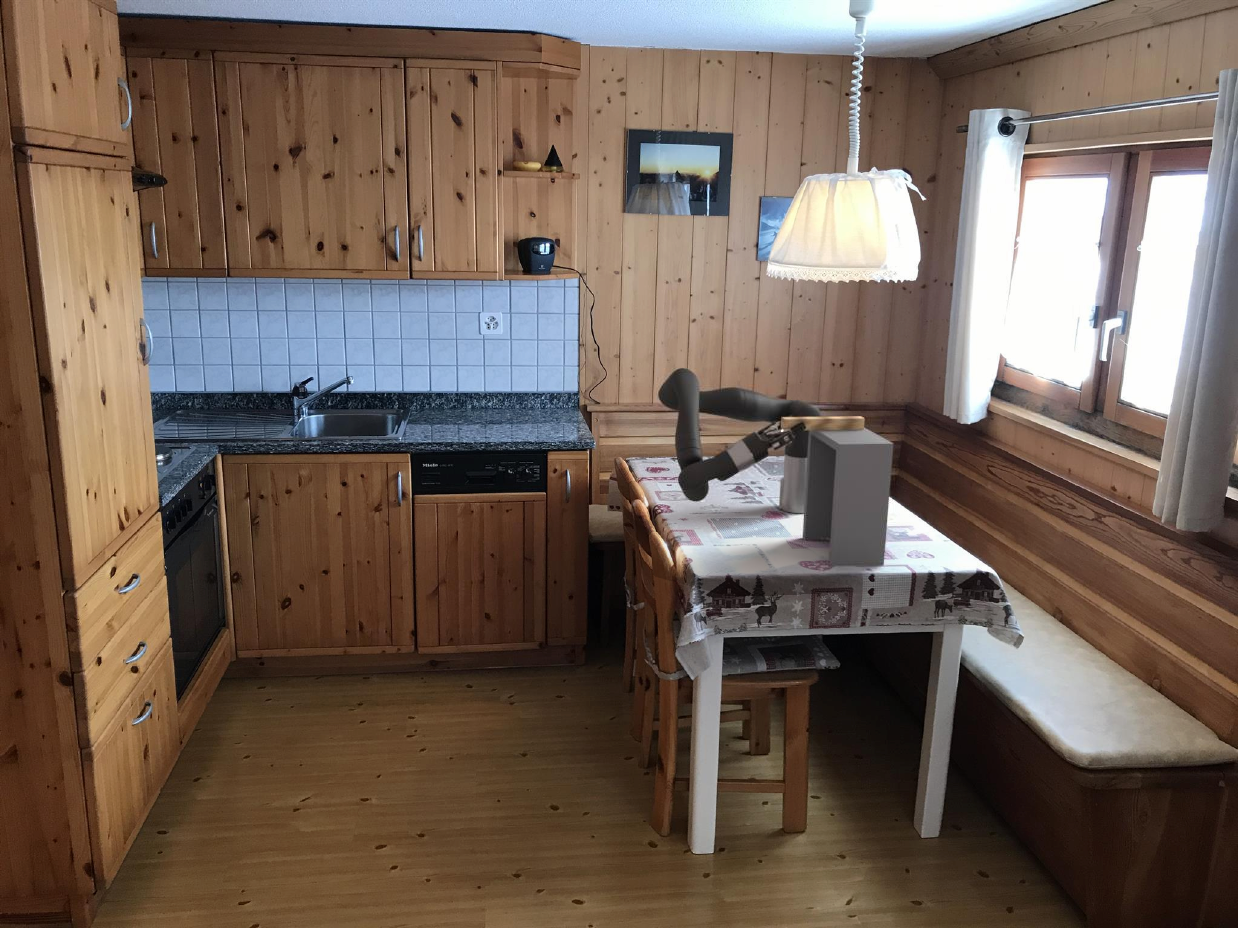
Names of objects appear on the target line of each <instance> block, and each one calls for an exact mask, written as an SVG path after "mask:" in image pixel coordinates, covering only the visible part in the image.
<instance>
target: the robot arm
mask: <svg viewBox="0 0 1238 928" xmlns="http://www.w3.org/2000/svg"><path fill="white" fill-rule="evenodd" d="M700 387H701V386H700V381H699V379H698V376H697V375H696V374H695V373H694V372H693V371H691V370H690V369H689V368H688V369H687V368H686V367H685V368H684V367H680V368H677V369H675V370H674V371H672V373H671V374H670V375H669V376H668V378H666V380H665V381H664V382H663V383H662V384H661V386H660V387H659V390H658V394H657V397H658V400H659V401H660V403H662V405H663V406H664V407H666V408H668V409H670V410H673V411H675V412H676V411H678V415H677V422H676V426H675V427H676V428H675V433H674V446H675V452H676V453H675V454H676V459H677V463H678V466H679V468H680V473H679V474H678V477H677V483H678V485H679V487H680V489H681V491H682V493H683V495H684V496H685V497H686V498H687V499H688V500H689V501H692V502H695V503H696V502H701V501H702V500H705V498H707V495H708V494H709V489H710V486H709V484H710V483H709V482H710V481H712V480H713V481H714V480H715V479H716V480H718V481H719V482H723V481H724V482H725V481H726V480H728V479H731V478H732V477H733V476H735V475H737V474H739V473H740V472H742V471H745V470H748V469H749V468H751V467H753V466H754V465H756V464H758V463H759V462H761V461H763V460H764V459H766V458H768V457H769V454H770V453H769V451H768V450H769V449H770V448H773V451H777V450H779V449H781V448H783V447H784V458H783V463H784V464H783V476H782V477H781V478H780V480H779V481H780V483H779V485H780V487H779V500H778V501H779V503H778V504H779V505H778V509H781V510H783V511H785V512H787V513H793V514H804V505H805V488H806V471H807V454H808V437H809V430H805V429H806V426H805V424H804V422H802V421H801V422H799V423H797V424H796V425H794V426H792V427H791V428H789V429H786V430H783V429H781V417H822V413H821V411H820V408H818V406H816V405H814V404H811V403H809V402H805V401H802V400H798V399H797V400H796V399H795V400H793V399H792V400H791V399H784V398H783V399H781V398H774V397H770V396H768V395H766V394H764V393H760V392H758V391H755V390H754V391H753V390H750V389H747V388H742V387H736V386H729V387H723V388H717V389H712V390H700V389H701V388H700ZM700 414H707V415H711V416H712V415H713V416H718V417H723V418H728V419H731V420H736V421H737V420H738V421H741V422H749V423H756V422H757V423H758V422H766V423H769V424H768V425H766V426H764V427H763V428H761V429H760V430H758V431H757V432H756V431H753V432H751V433H749V434H748V435H746V436H745V437H743V438H741V439H739V440H738V441H736V442H734V443H733V444H731V445H730V446H729V447H727V448H726V449H724V450H723V451H721V452H719V453H718V454H716V455H714V456H713V457H711V458H706V459H704V458H703V457H704V456H703V455H704V454H703V448H702V442H701V440H702V439H701V434H700V432H701V431H700Z"/></svg>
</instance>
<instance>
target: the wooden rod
mask: <svg viewBox="0 0 1238 928" xmlns="http://www.w3.org/2000/svg"><path fill="white" fill-rule="evenodd" d="M801 421H802V422H804V424H805V426H806V429H805V430H858V429H864V428H865V417H863V416H859V415H857V416H855V415H854V416H853V415H851V416H847V415H845V416H844V415H843V416H840V415H839V416H821V417H781V429H783V430H786V429H789V428H791V427H792V426H794V425H796V424H797V423H799V422H801Z"/></svg>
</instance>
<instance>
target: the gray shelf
mask: <svg viewBox="0 0 1238 928" xmlns="http://www.w3.org/2000/svg"><path fill="white" fill-rule="evenodd" d="M893 453H894V443H893V442H892V441H889V440H887V438H884V437H883V436H880V435H879V434H877V433H875V432H873V431H871V430H870V429H868V428H866V427H864V429H858V430H809V437H808V454H807V471H806V488H805V505H804V513H803V523H802V524H803V525H802V539H803V538H804V539H803V540H805V541H813V540H816V541H817V540H830V544H829V555H828V558H829V559H828V564H830V566H829V567H851V566H853V567H856V566H860V567H861V566H884V565H885V554H886V553H885V552H886V543H887V542H886V540H887V529H888V518H889V517H888V516H889V505H890V503H889V502H890V492H891V478H892V468H893V467H892V465H893V455H894V454H893Z"/></svg>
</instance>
